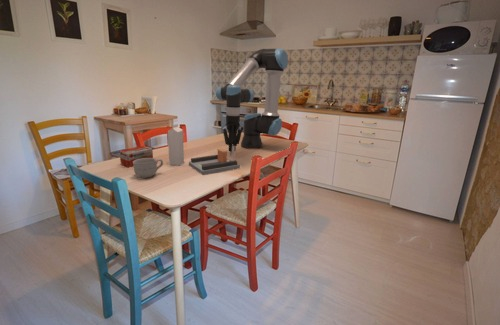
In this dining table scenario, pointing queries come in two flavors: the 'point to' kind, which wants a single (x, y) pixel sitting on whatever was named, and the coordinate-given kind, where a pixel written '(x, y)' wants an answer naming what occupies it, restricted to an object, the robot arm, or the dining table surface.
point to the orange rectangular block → (222, 155)
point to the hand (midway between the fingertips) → (231, 156)
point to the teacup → (146, 167)
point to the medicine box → (134, 155)
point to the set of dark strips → (213, 166)
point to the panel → (198, 167)
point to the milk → (175, 146)
